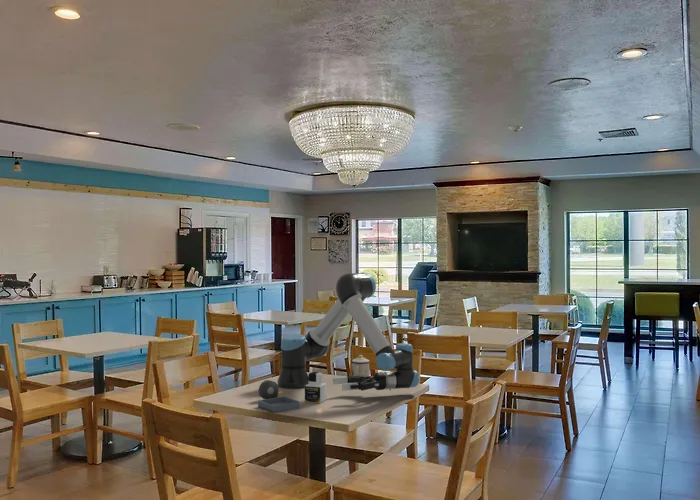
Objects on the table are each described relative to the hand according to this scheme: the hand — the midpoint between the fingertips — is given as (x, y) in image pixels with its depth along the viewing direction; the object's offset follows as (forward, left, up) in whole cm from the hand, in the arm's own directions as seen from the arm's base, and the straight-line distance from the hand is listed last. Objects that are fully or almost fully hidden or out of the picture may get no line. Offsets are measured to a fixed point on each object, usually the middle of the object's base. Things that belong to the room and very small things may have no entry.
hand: (337, 384), depth 259 cm
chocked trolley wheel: (-18, -22, -6) cm, 29 cm away
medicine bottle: (-3, -9, -7) cm, 12 cm away
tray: (-3, -27, -6) cm, 28 cm away
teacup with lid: (-28, +35, -7) cm, 45 cm away
